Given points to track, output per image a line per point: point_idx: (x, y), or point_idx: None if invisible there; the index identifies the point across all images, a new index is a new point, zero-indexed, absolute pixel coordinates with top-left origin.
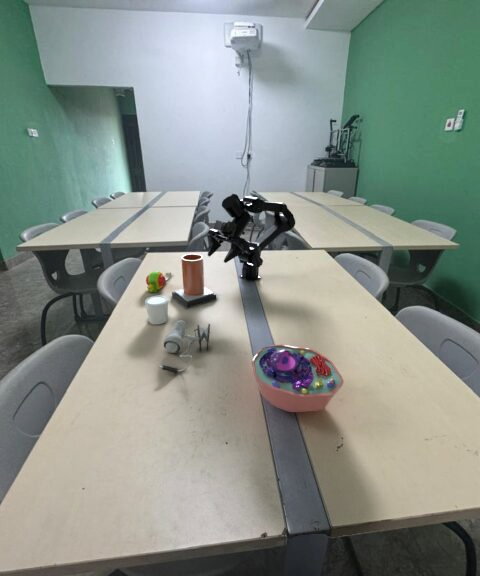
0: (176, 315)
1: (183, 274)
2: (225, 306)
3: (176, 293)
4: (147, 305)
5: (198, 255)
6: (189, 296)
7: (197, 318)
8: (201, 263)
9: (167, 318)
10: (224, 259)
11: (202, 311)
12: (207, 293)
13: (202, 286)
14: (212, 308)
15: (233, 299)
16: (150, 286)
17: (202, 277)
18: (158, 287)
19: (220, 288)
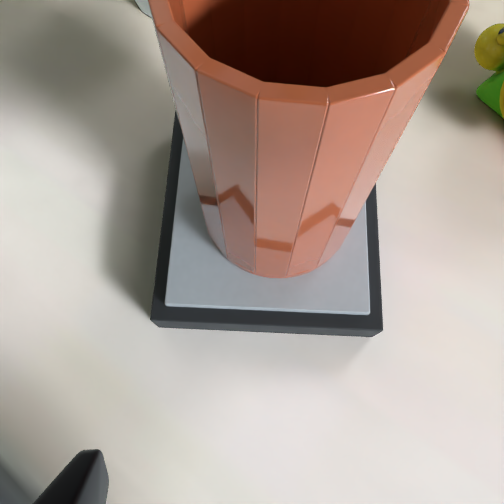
0: (154, 59)
1: (295, 37)
2: (34, 308)
3: None
4: None
5: (350, 86)
6: None
7: (52, 114)
8: (166, 71)
9: (147, 11)
10: (84, 474)
11: (92, 170)
12: (183, 260)
13: (203, 214)
14: (77, 231)
15: (67, 423)
16: (487, 29)
17: (195, 181)
18: (500, 101)
19: (290, 473)
